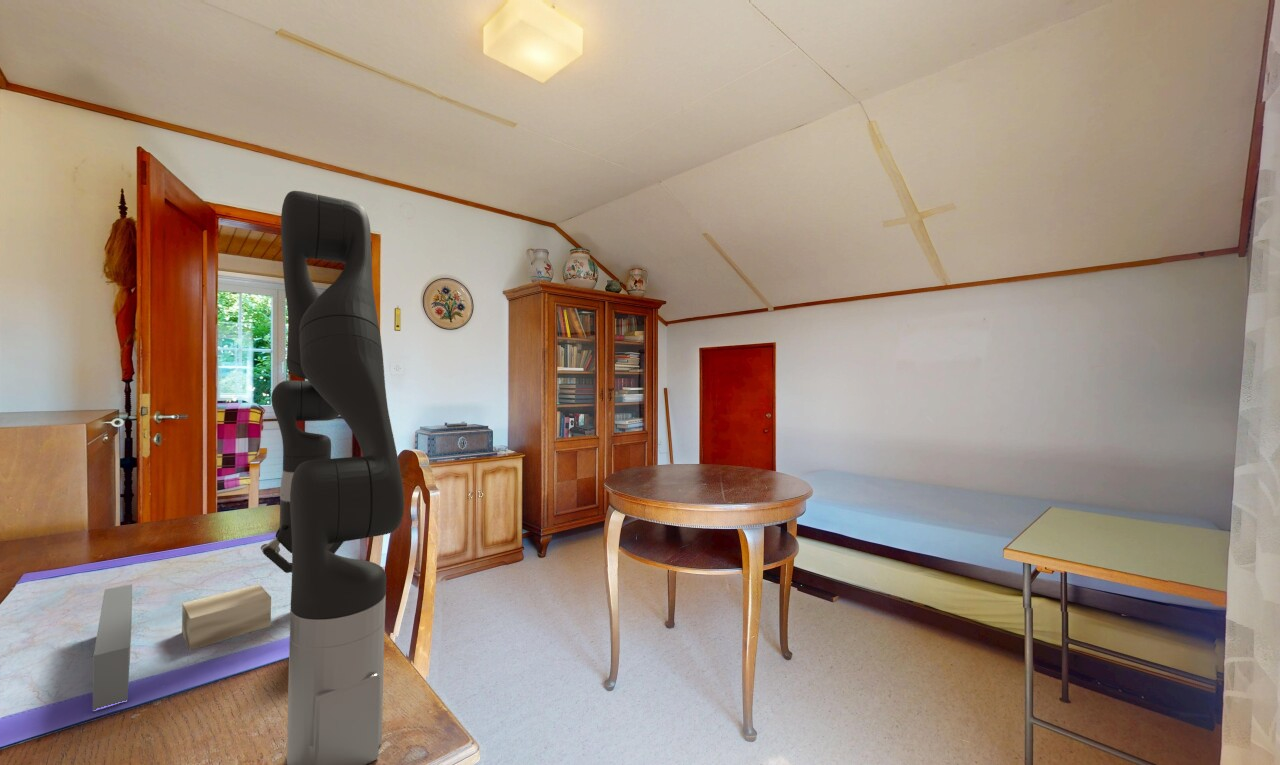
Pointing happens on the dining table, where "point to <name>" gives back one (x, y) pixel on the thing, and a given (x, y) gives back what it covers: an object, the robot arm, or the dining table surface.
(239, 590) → the birch block
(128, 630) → the grey block
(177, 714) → the dining table surface
